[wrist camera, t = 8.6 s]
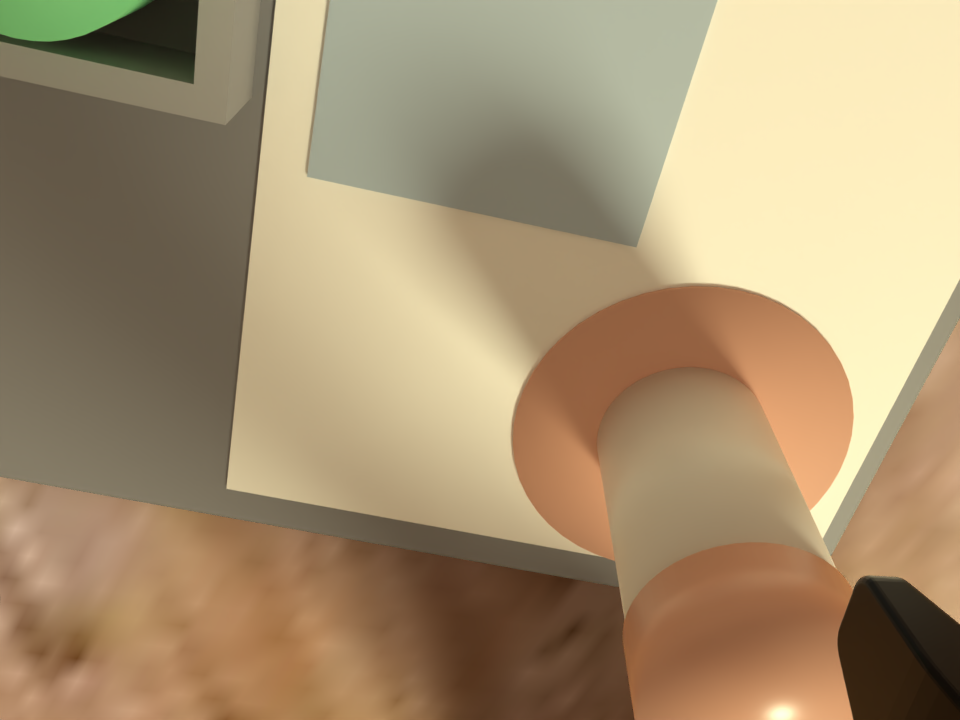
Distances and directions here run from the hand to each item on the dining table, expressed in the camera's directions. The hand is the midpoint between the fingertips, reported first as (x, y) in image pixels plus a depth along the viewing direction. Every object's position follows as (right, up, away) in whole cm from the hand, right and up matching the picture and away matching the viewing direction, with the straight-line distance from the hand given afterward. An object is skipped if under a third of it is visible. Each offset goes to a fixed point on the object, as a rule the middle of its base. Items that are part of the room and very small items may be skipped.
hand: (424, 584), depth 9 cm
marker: (+5, 0, +12) cm, 13 cm away
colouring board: (0, +5, +10) cm, 12 cm away
